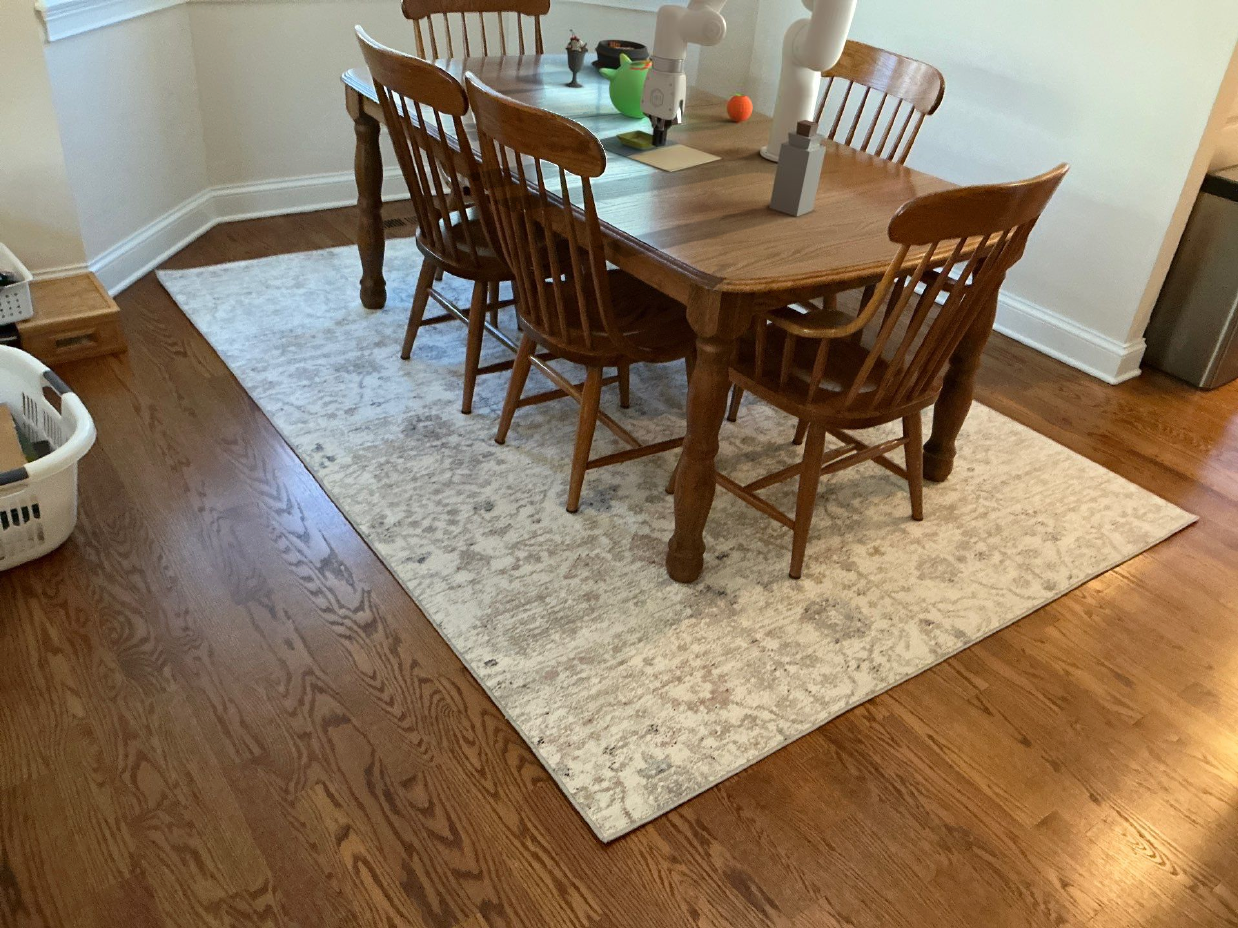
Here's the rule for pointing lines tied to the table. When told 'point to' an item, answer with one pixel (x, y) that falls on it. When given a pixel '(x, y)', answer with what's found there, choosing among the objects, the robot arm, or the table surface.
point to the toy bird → (627, 85)
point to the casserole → (618, 53)
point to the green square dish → (636, 139)
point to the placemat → (660, 154)
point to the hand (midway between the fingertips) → (658, 145)
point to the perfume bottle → (798, 170)
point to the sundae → (575, 58)
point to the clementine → (739, 107)
